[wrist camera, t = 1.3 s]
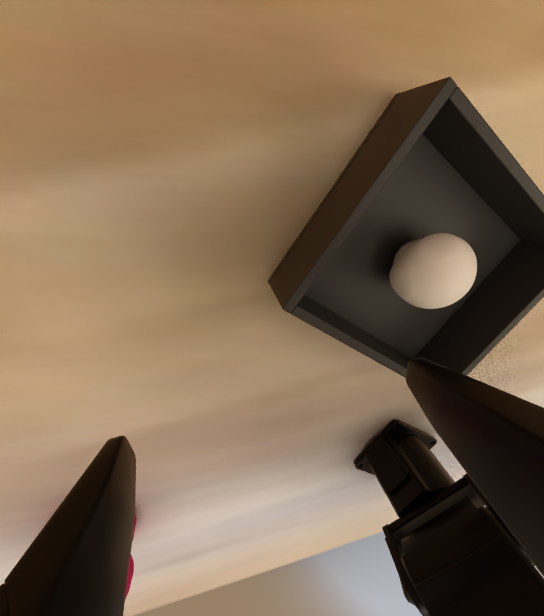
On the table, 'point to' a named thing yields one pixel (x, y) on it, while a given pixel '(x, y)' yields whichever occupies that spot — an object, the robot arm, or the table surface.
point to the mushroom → (433, 270)
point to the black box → (420, 236)
